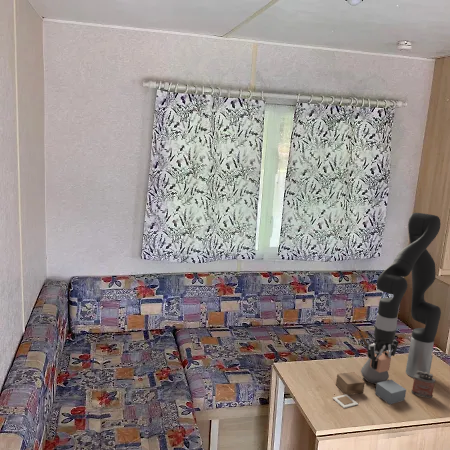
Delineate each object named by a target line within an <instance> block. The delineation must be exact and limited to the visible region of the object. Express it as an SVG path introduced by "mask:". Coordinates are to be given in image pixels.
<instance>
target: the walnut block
mask: <svg viewBox="0 0 450 450" xmlns="http://www.w3.org/2000/svg"><path fill="white" fill-rule="evenodd" d="M335 385H336V386H337V388H339V389H340V390H341V391H342V393H344V395H345V394H347V395H348V396H350V395H357V394H363V393H364V389H365V381H364V379H362V378H361V377H360V376H359V375H358V374H357V373H355V371H353V372H343V373H337V374H336V381H335Z"/></svg>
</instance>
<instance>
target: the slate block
mask: <svg viewBox="0 0 450 450" xmlns="http://www.w3.org/2000/svg"><path fill="white" fill-rule="evenodd" d="M375 385H376V386H375V392H374V394H375V395H376V396H378V398H380V399H382V400H383V401H384V402H386V403H387V404H388V405H393V404H397V403H400V402H403V401H405V399H406V394H407V389H406V388H405V387H404V386H402V385H400V384H399V383H397V382H396V381H394V380H393V379H387V381H383V382H379V383H377V384H375Z"/></svg>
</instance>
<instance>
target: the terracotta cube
mask: <svg viewBox="0 0 450 450" xmlns="http://www.w3.org/2000/svg"><path fill="white" fill-rule="evenodd" d="M376 355H377V354H376ZM376 355H375V357H376ZM391 361H392V357H391V358H390V357H388V356H386V355H385V354H383V353H382V355H381V356H379V359H378V365H377V369H376V371H377V372H379V373H380V372H385V371H388V372H389V371H390V368H391ZM371 363H372V359H371V362H370V367H371Z"/></svg>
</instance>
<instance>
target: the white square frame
mask: <svg viewBox="0 0 450 450" xmlns="http://www.w3.org/2000/svg"><path fill="white" fill-rule="evenodd" d="M331 399H333V400H334V401H335V402H336V403H337V404H338V405H340V407H342V408H343V409H347V408H350V407H355V406H358V405H359V403H358V402H357V401H356V400H355V399H353V398H352V397H350V395H347V394H345V393H344V394H342V395H338V396H333V397H332V398H331Z"/></svg>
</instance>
